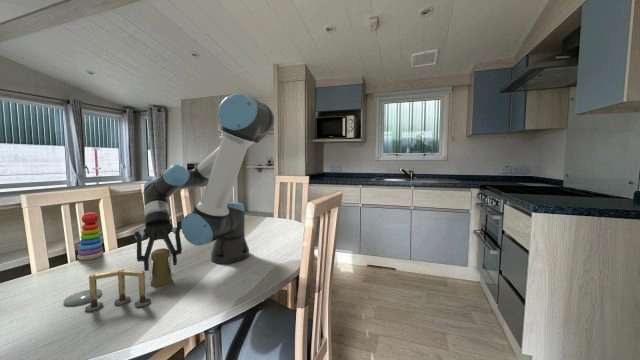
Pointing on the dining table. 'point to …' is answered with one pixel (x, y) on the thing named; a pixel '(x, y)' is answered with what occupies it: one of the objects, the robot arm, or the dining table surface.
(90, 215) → the stacking toy
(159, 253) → the cork
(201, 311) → the dining table surface
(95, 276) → the rail
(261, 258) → the dining table surface
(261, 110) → the robot arm
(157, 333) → the dining table surface
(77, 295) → the coaster
